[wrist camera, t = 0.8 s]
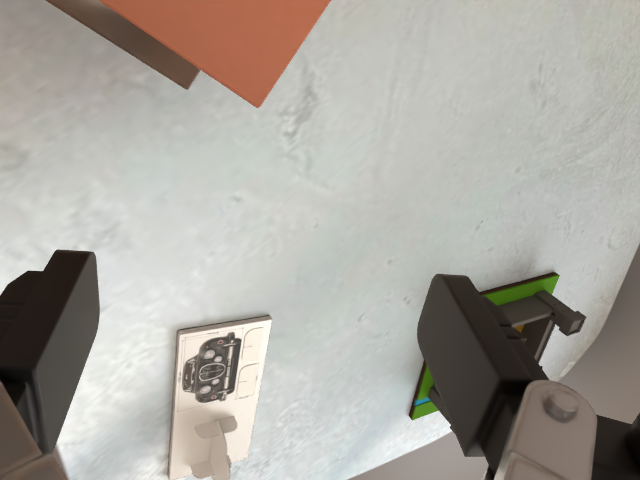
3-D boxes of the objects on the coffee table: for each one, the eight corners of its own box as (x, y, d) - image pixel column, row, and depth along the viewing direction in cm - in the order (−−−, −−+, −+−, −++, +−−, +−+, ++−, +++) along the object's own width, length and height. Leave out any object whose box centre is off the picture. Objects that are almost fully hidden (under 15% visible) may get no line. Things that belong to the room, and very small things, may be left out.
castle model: (555, 272, 53) (618, 316, 47) (512, 376, 60) (563, 425, 55) (440, 303, 46) (498, 358, 41) (408, 416, 54) (454, 475, 48)
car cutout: (246, 453, 44) (265, 499, 41) (167, 476, 41) (182, 527, 38) (269, 315, 37) (295, 357, 34) (177, 330, 34) (196, 377, 31)
